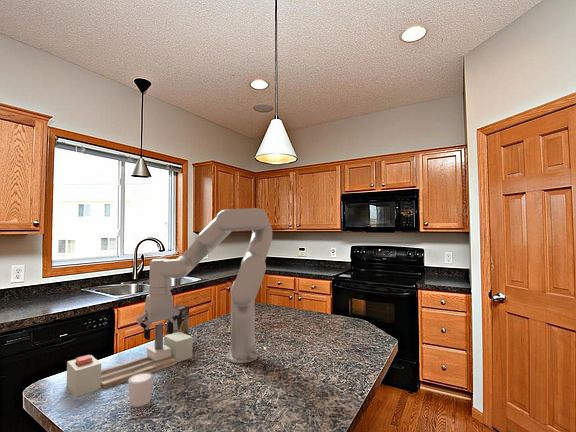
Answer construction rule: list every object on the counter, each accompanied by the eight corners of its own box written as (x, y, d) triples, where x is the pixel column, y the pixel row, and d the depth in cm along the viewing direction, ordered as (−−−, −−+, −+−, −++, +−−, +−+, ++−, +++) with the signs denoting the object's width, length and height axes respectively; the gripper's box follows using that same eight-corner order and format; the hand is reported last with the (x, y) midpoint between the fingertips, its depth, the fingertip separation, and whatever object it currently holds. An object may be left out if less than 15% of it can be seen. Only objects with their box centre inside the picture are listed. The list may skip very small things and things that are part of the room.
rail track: (176, 364, 119) (176, 357, 119) (103, 389, 100) (103, 381, 100) (161, 355, 127) (161, 349, 127) (91, 377, 108) (91, 369, 108)
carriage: (170, 356, 120) (170, 324, 120) (155, 361, 115) (155, 328, 116) (161, 351, 124) (162, 320, 125) (146, 355, 120) (147, 324, 120)
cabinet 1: (100, 388, 100) (101, 363, 101) (75, 397, 95) (75, 370, 96) (90, 378, 107) (91, 355, 107) (66, 386, 102) (67, 361, 102)
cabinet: (192, 357, 125) (192, 337, 125) (176, 362, 120) (176, 341, 120) (179, 350, 132) (179, 331, 132) (163, 355, 126) (163, 335, 127)
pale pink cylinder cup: (133, 395, 96) (133, 372, 97) (156, 394, 97) (156, 371, 97) (123, 408, 89) (124, 383, 90) (148, 407, 90) (148, 382, 90)
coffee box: (178, 348, 134) (179, 310, 135) (165, 347, 136) (165, 309, 136) (189, 340, 143) (189, 305, 144) (176, 339, 145) (177, 304, 145)
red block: (91, 370, 101) (92, 357, 102) (79, 374, 99) (79, 361, 99) (88, 367, 104) (88, 354, 104) (75, 370, 101) (76, 357, 101)
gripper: (175, 286, 130) (175, 328, 129) (132, 292, 117) (131, 339, 116) (185, 288, 125) (184, 332, 124) (141, 295, 112) (139, 344, 111)
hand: (158, 336), depth 120 cm, fingers open, 8 cm apart
